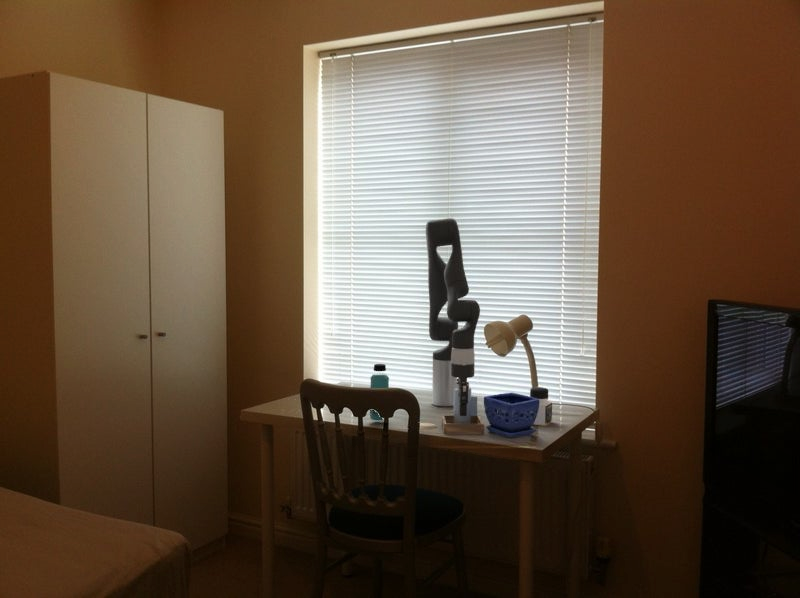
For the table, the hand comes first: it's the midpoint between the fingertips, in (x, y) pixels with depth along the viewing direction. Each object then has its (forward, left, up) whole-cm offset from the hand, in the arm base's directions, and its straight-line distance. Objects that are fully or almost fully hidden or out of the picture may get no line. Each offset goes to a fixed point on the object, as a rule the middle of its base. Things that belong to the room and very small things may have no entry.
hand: (462, 413), depth 235 cm
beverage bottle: (-10, -27, -6) cm, 29 cm away
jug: (0, 0, -5) cm, 5 cm away
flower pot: (+5, +15, -6) cm, 17 cm away
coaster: (-3, -13, -6) cm, 14 cm away
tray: (0, 0, -6) cm, 6 cm away
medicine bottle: (-11, +27, -6) cm, 30 cm away
